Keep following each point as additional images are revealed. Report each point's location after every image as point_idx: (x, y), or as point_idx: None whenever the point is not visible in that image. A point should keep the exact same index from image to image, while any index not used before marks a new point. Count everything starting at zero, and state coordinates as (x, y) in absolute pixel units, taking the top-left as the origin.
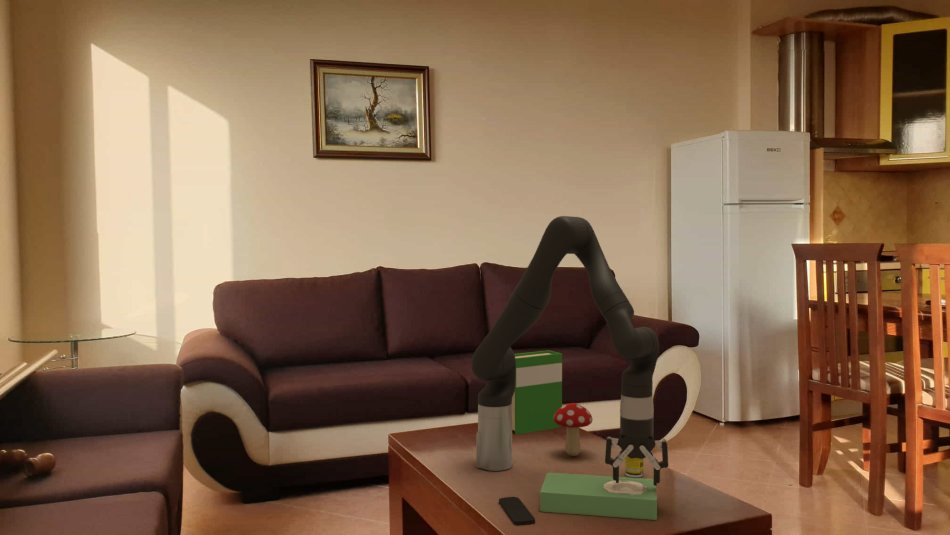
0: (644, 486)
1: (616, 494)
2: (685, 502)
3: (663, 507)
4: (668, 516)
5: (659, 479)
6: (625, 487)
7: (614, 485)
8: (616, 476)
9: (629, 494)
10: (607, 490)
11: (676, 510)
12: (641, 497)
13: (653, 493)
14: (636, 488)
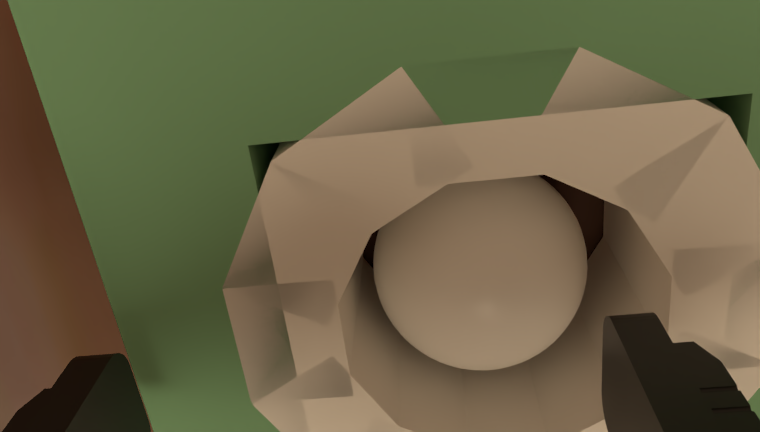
0: (279, 406)
1: (618, 27)
2: None
3: None
4: None
5: (10, 430)
6: (500, 337)
7: None
8: (675, 369)
9: (424, 83)
10: (749, 154)
11: (17, 252)
12: (236, 10)
13: (120, 217)
14: (372, 376)
